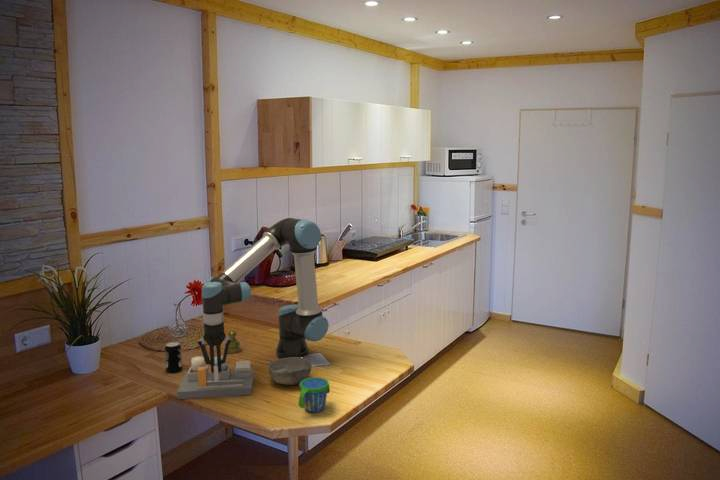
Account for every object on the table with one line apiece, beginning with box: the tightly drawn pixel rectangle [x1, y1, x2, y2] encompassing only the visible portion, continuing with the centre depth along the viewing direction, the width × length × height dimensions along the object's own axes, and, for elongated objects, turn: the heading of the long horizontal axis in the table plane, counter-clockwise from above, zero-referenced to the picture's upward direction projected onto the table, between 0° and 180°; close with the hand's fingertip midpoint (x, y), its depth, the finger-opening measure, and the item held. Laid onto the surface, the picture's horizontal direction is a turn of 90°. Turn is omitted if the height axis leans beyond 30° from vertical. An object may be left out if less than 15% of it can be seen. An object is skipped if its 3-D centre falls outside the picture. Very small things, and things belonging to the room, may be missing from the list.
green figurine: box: [224, 329, 242, 354], centre depth 271 cm, size 7×7×10 cm
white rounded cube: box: [190, 355, 205, 372], centre depth 232 cm, size 5×5×5 cm
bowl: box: [267, 357, 312, 386], centre depth 235 cm, size 18×18×8 cm
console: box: [176, 364, 255, 400], centre depth 230 cm, size 28×18×6 cm, turn 97°
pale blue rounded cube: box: [214, 354, 228, 371], centre depth 233 cm, size 5×5×5 cm
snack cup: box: [298, 376, 331, 413], centre depth 210 cm, size 16×10×10 cm
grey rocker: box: [235, 360, 251, 372], centre depth 234 cm, size 6×5×2 cm
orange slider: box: [198, 367, 207, 387], centre depth 224 cm, size 3×3×7 cm
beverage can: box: [164, 341, 183, 374], centre depth 248 cm, size 7×7×12 cm
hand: (216, 380), depth 225 cm, fingers closed
